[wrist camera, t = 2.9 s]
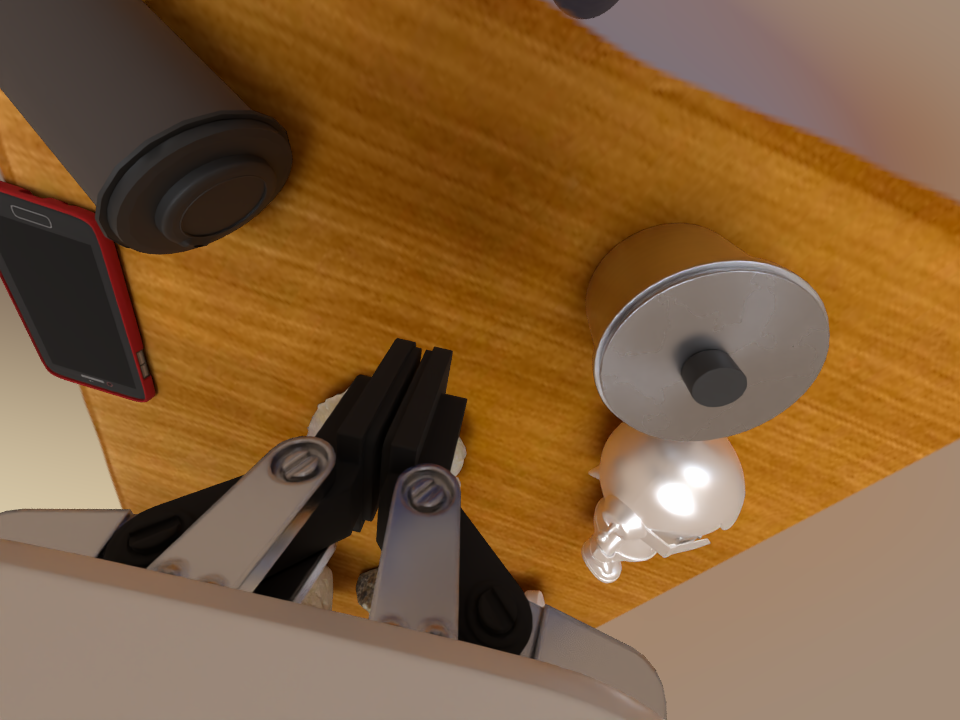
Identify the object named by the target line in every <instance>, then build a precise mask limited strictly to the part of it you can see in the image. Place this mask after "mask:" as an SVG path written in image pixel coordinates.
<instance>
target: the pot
mask: <svg viewBox="0 0 960 720" xmlns="http://www.w3.org/2000/svg"><path fill="white" fill-rule="evenodd" d="M585 307H586V314H587V319H588V323H589V327H590V331H591V336H592V340H593V344H594V350H593V357H592V367H593V375H594V380H595V384H596V387H597V390H598V393H599V395H600V397H601V399H602V401H603V402H604V403H605V405H606V406H607V407H608V409H609V410H610V411H611V412H612V413H613V414H614V415H615V416H617V417H618V418H619V419H621V420H622V421H623V422H625V423H626V424H628V425H629V426H630V427H632V428H634V429H636V430H638V431H640V432H642V433H645V434H647V435H650V436H653V437H657V438H661V439H666V440H672V441H706V440H713V439H719V438H724V437H728V436H732V435H735V434H738V433H741V432H744V431H747V430H750V429H752V428H754V427H756V426H759V425H761V424H763V423H765V422H767V421H768V420H770V419H772V418H774V417H775V416H777V415H778V414H780V413H781V412H783V411H784V410H786V409H787V408H788V407H790V406H791V405H792V404H793V403H794V402H796V401H797V400H798V399H799V398H800V397H801V396H802V395H803V394H804V393H805V392H806V391H807V389H808V388H809V387H810V386H811V384H812V383H813V382H814V380H815V379H816V377H817V376H818V374H819V372H820V371H821V368H822V366H823V364H824V362H825V359H826V356H827V352H828V348H829V324H828V316H827V313H826V310H825V307H824V304H823V302H822V300H821V299H820V297H819V295H818V294H817V292H816V291H815V290H814V289H813V288H812V287H811V286H810V285H809V284H808V283H807V282H806V281H804V280H803V279H802V278H800V277H799V276H798V275H796V274H795V273H793V272H791V271H790V270H788V269H786V268H784V267H782V266H780V265H778V264H776V263H774V262H771V261H767V260H764V259H761V258H755V257H751V256H749V255H748V254H746V253H745V252H744V251H742V250H741V249H739V248H738V247H736V246H735V245H733V244H732V243H730V242H729V241H727V240H726V239H725V238H723V237H722V236H720V235H719V234H717V233H716V232H714V231H712V230H710V229H708V228H705V227H702V226H698V225H693V224H687V223H672V224H663V225H659V226H654V227H651V228H648V229H645V230H642V231H640V232H638V233H636V234H634V235H632V236H630V237H628V238H627V239H625V240H624V241H622V242H621V243H619V244H618V245H617V246H616V247H614V248H613V249H612V250H611V251H610V252H609V253H608V254H607V255H606V256H605V257H604V259H603V260H602V261H601V262H600V264H599V265H598V267H597V268H596V270H595V271H594V273H593V275H592V277H591V280H590V282H589V285H588V288H587V293H586V306H585Z"/></svg>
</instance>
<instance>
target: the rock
mask: <svg viewBox="0 0 960 720" xmlns="http://www.w3.org/2000/svg"><path fill="white" fill-rule="evenodd" d="M378 568H379V567H378ZM378 568H377V569H374V570H369V571H368V572H366V573H362V574H360V576H359V578H358V581H357V585H356V592H357V599H358V603H359V605H361V606H362V607H363V608H364V609H366V610H367V611H368V612H369V613H370V609H371V603H372V598H373V593H374V588H375V583H376V578H377V573H378Z"/></svg>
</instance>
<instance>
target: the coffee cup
mask: <svg viewBox="0 0 960 720" xmlns="http://www.w3.org/2000/svg"><path fill="white" fill-rule="evenodd" d="M0 88H1V90H2V91H3V92H4V93H5V95H6V96H7V97H8V98H9V99H10V101H11V102H12V103H13V104H14V106H15V107H16V108H17V109H18V111H19V112H20V113H21V114H22V115H23V117H24V118H25V119H26V120H27V122H28V123H29V124H30V125H31V126H32V128H33V129H34V130H35V131H36V133H37V134H38V135H39V136H40V138H41V139H42V140H43V141H44V142H45V144H46V145H47V146H48V147H49V149H50V150H51V151H52V152H53V153H54V155H55V156H56V157H57V158H58V160H59V161H60V162H61V163H62V165H63V166H64V167H65V168H66V169H67V171H68V172H69V173H70V174H71V176H72V177H73V178H74V179H75V180H76V182H77V183H78V184H79V185H80V187H81V188H82V189H83V190H84V192H85V193H86V194H87V195H88V196H89V198H90V199H91V200H92V201H93V203H94V204H95V205H96V212H95V220H96V222H97V224H98V225H99V227H100V229H101V231H102V233H103V234H104V236H105V237H107V238H108V239H110V240H112V241H114V242H116V243H117V244H119V245H121V246H123V247H126V248H131V249H134V250H136V251H139V252H142V253H147V254H172V253H178V252H184V251H187V250H191V249H195V248H198V247H202V246H207V245H208V244H209V243H211V242H214V241H216V240H218V239H220V238H222V237H224V236H226V235H228V234H230V233H232V232H233V231H235V230H237V229H238V228H240V227H241V226H243V225H244V224H246V223H247V222H249V221H250V220H251V219H253V218H254V217H255V216H256V215H258V214H259V213H260V212H261V211H262V210H263V209H264V208H266V207H267V206H268V204H269V203H270V202H271V201H272V200H273V199H274V198H275V197H276V195H277V194H278V193H279V192H280V190H281V189H282V187H283V186H284V184H285V182H286V180H287V178H288V176H289V174H290V170H291V167H292V160H293V158H292V151H291V148H290V144H289V139H288V135H287V131H286V130H285V129H284V128H283V127H282V126H281V125H280V124H279V123H278V122H277V121H276V119H275V118H273V117H270V116H267V115H264V114H261V113H259V112H256V111H253V110H251V109H250V108H249V107H248V106H247V105H246V104H245V103H244V102H243V101H242V100H241V99H240V98H239V97H238V96H237V95H236V94H235V93H234V92H233V91H232V90H231V89H230V88H229V87H228V86H227V85H226V84H225V83H224V82H223V81H222V80H221V79H220V78H219V77H218V76H217V75H216V74H215V73H214V72H213V71H212V70H211V69H210V68H209V67H208V66H207V65H206V64H205V63H204V62H203V61H202V60H201V59H200V58H199V57H198V56H197V55H196V54H195V53H194V52H193V51H192V50H191V49H190V48H189V47H188V46H187V45H186V44H185V43H184V42H183V41H182V40H181V39H180V38H179V37H178V36H177V35H176V34H175V33H174V32H173V31H172V30H171V29H170V28H169V27H168V26H167V25H166V24H165V23H164V22H163V21H162V20H161V19H160V18H159V17H158V16H157V15H156V14H155V13H154V12H153V11H152V10H151V9H150V8H149V7H148V6H147V5H146V4H145V3H144V2H143V1H142V0H0Z"/></svg>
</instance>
